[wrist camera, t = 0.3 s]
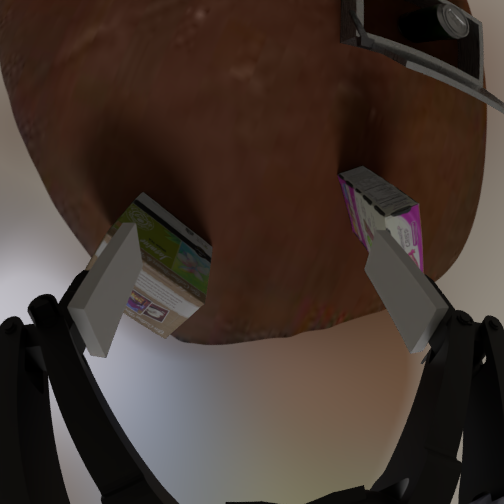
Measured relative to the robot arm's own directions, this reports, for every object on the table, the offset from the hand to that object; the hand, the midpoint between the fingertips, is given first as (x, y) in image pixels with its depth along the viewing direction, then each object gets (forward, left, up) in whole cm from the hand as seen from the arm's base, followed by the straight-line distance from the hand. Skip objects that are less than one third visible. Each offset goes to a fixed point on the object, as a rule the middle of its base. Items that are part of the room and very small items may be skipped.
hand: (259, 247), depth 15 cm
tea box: (+15, -13, -28) cm, 34 cm away
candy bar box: (+7, +19, -28) cm, 34 cm away
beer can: (-24, +25, -28) cm, 44 cm away
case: (-22, +24, -28) cm, 42 cm away
